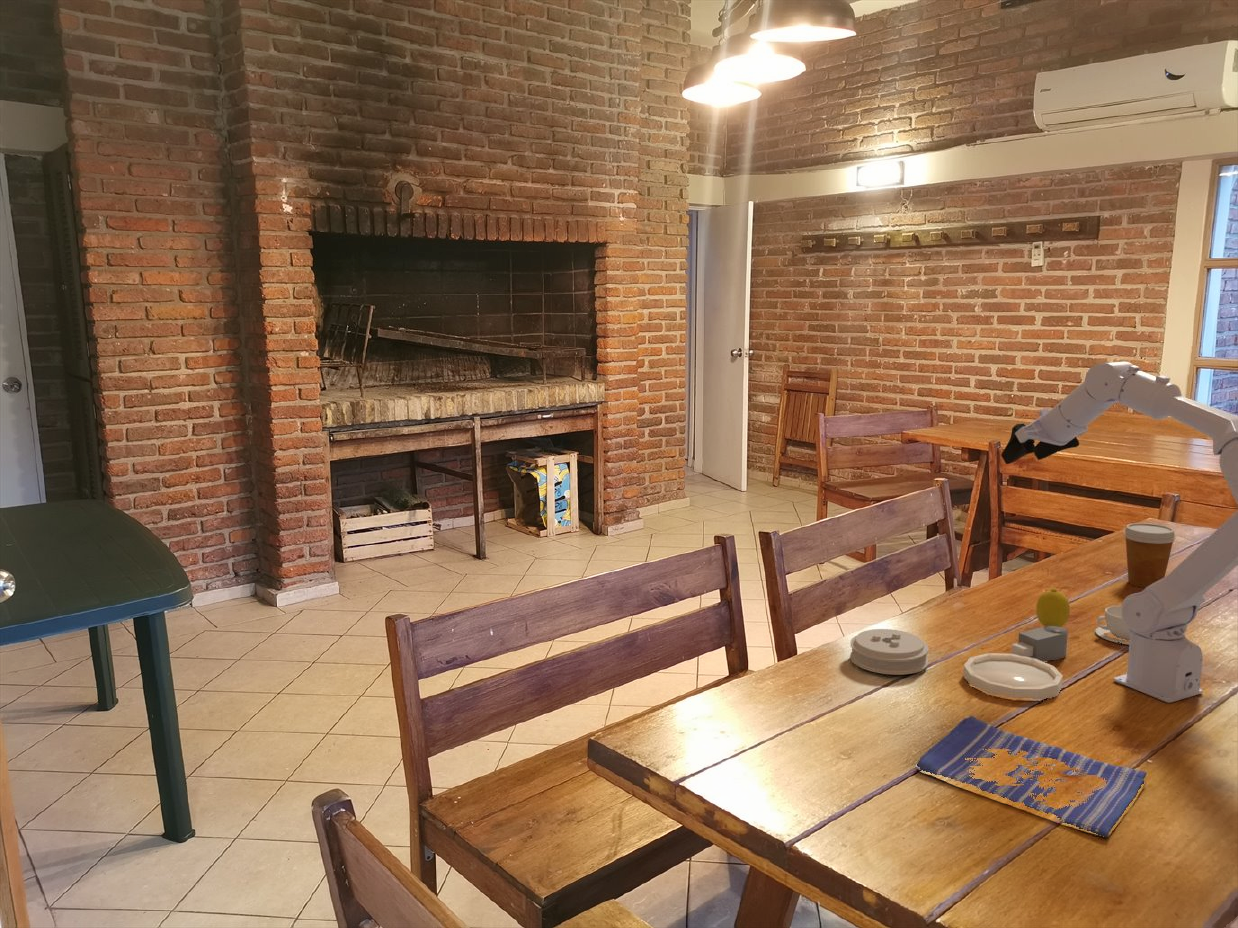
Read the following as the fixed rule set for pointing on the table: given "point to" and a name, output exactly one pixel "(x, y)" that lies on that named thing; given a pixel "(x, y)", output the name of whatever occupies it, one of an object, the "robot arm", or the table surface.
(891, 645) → the lid
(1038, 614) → the lemon
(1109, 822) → the dish towel
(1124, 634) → the teacup
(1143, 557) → the disposable coffee cup
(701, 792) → the table surface
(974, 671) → the plate
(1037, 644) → the connector
